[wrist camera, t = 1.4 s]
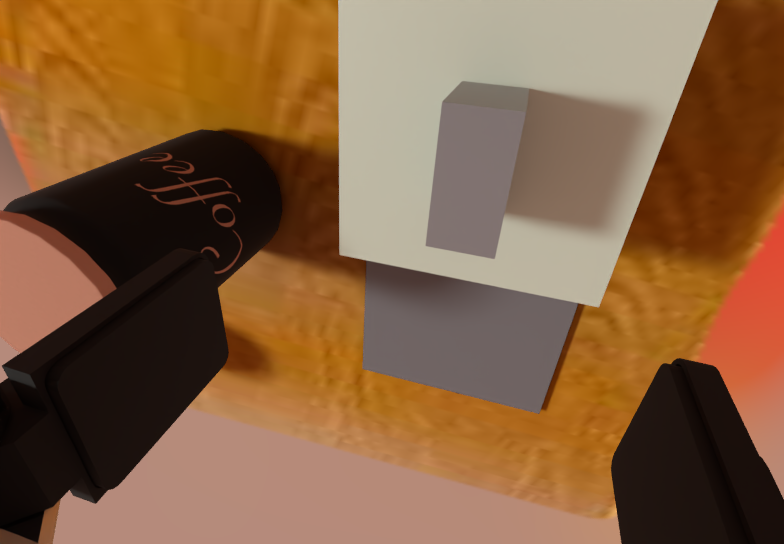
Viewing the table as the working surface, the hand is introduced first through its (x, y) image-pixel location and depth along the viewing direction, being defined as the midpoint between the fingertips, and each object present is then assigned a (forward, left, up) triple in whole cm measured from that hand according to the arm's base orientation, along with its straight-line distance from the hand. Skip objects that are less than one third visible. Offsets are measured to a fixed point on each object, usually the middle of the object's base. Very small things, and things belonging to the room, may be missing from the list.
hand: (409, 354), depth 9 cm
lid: (0, 0, -16) cm, 16 cm away
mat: (+17, 0, -24) cm, 29 cm away
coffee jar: (+9, -21, -24) cm, 33 cm away
